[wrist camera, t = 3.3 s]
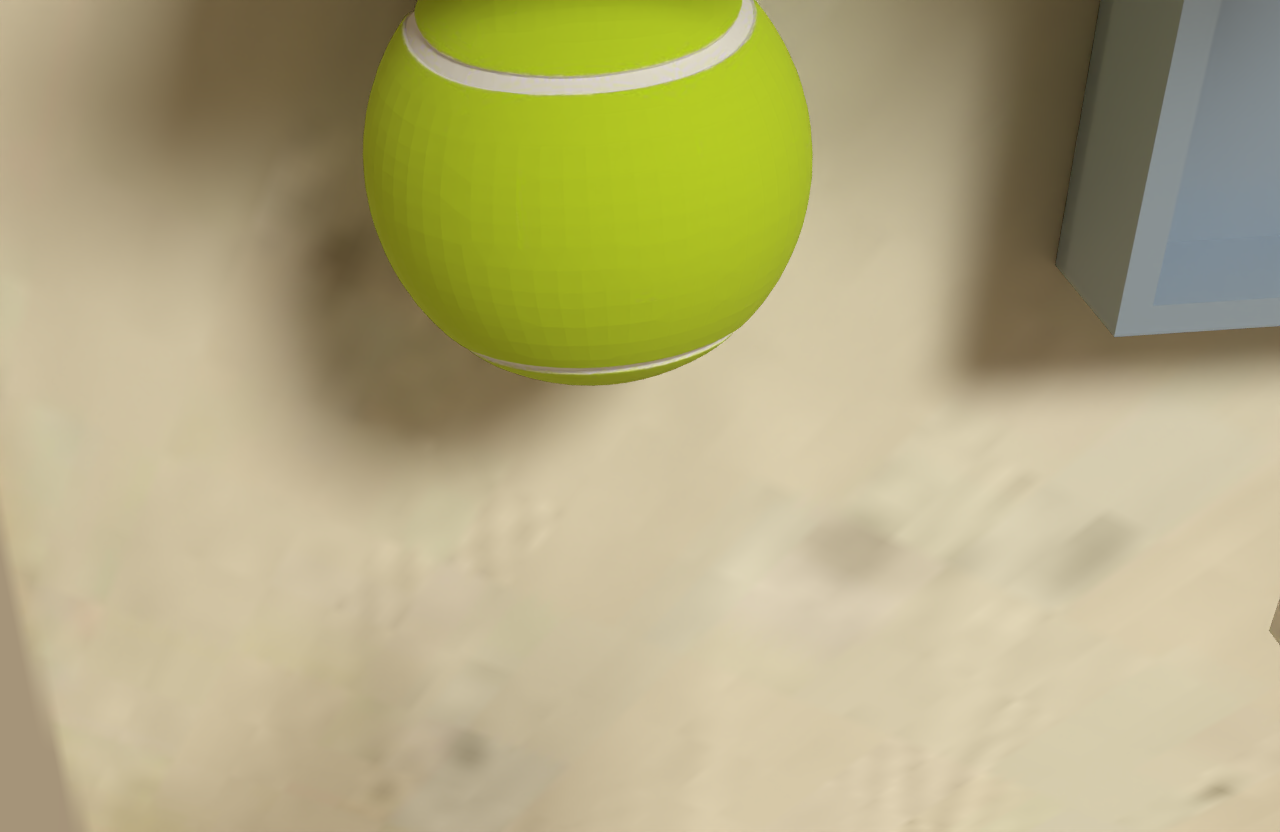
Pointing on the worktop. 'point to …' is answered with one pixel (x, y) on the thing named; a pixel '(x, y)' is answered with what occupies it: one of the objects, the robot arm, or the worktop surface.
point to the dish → (1178, 168)
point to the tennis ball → (587, 177)
